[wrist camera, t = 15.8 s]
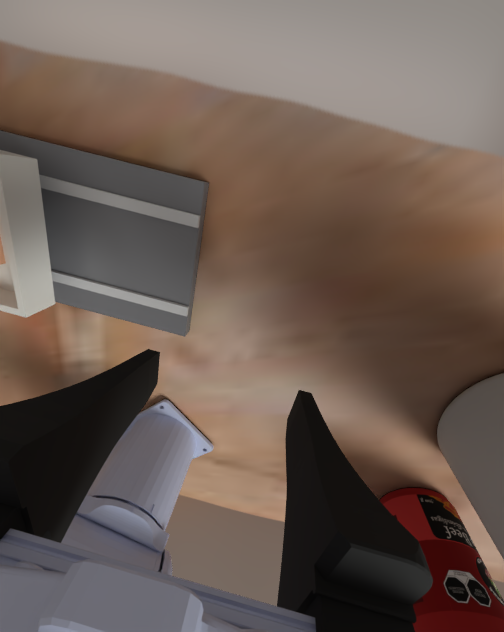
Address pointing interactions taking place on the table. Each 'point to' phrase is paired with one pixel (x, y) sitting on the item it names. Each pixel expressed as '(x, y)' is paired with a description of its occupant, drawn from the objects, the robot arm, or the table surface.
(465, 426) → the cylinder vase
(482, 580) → the canned food
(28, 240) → the white shallow tray
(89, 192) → the track
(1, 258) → the block
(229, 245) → the table surface
